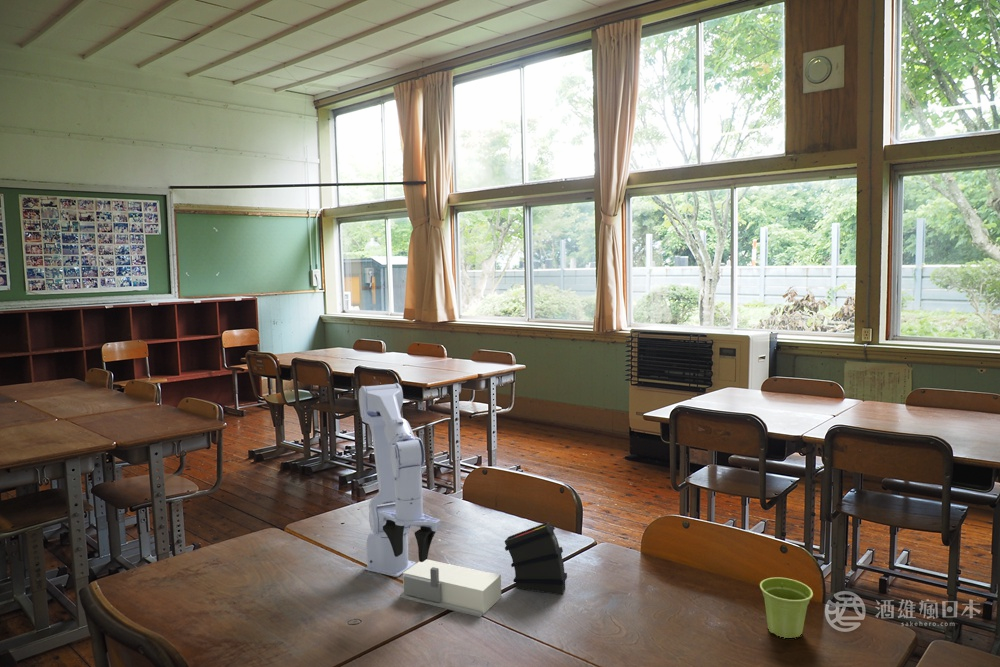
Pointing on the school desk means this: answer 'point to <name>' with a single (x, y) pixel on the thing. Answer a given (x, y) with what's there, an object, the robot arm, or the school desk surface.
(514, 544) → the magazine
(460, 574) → the camera housing
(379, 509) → the robot arm
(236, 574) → the school desk surface
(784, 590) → the plant pot
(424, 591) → the side door
